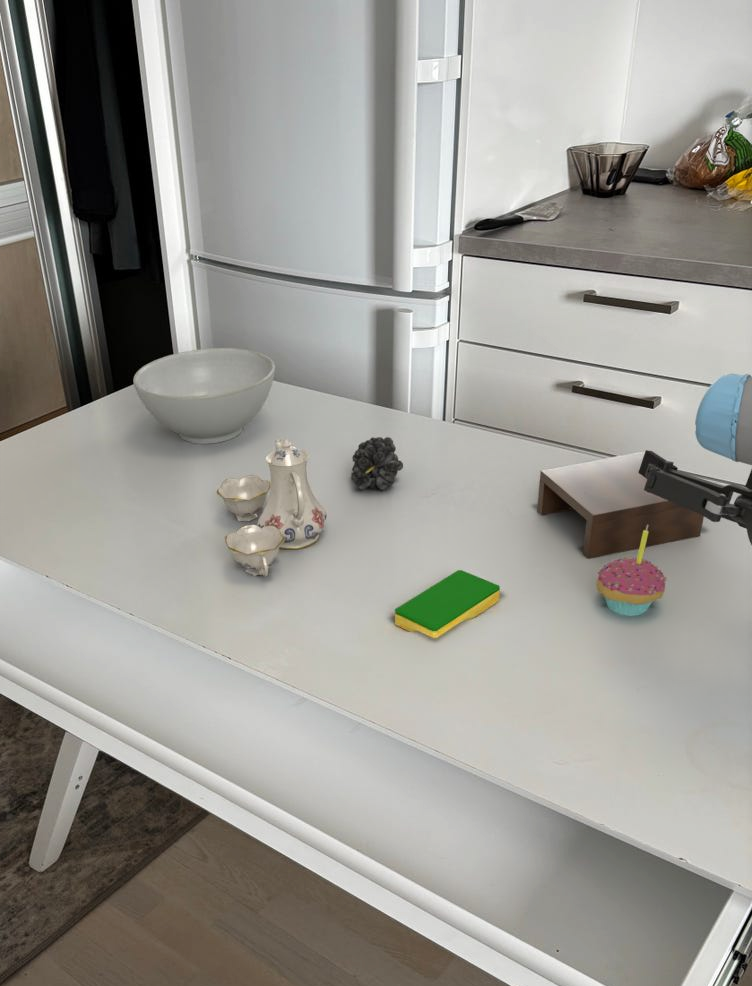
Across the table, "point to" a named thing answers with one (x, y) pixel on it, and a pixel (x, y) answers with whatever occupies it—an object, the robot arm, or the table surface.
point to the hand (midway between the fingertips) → (698, 468)
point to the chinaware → (273, 510)
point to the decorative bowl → (206, 391)
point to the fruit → (375, 464)
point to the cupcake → (631, 583)
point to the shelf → (615, 505)
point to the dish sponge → (447, 604)
